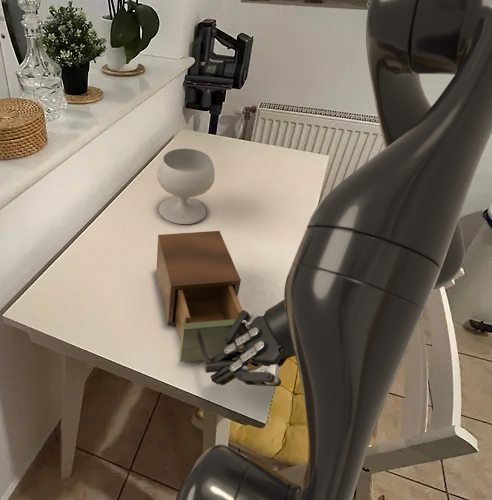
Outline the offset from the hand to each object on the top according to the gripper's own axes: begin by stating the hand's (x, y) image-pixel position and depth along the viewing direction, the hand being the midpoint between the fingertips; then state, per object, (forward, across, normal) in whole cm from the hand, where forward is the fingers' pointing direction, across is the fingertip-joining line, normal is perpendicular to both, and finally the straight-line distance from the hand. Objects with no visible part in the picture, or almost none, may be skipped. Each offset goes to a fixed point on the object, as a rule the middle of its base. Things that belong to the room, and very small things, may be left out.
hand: (212, 374), depth 68 cm
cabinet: (+2, -22, +5) cm, 23 cm away
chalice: (0, -52, +8) cm, 53 cm away
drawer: (+2, -9, +5) cm, 11 cm away
